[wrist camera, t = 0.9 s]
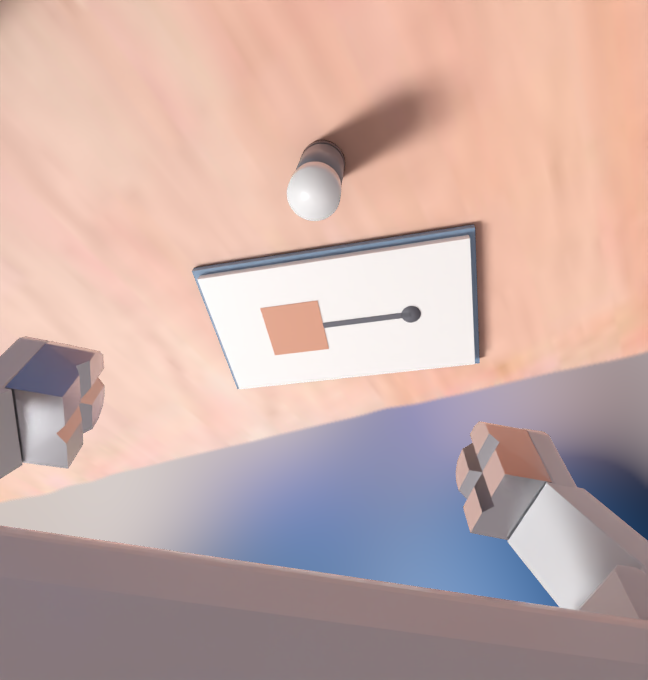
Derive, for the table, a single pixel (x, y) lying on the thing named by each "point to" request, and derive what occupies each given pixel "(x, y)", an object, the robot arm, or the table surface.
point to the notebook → (347, 309)
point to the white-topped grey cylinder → (317, 181)
